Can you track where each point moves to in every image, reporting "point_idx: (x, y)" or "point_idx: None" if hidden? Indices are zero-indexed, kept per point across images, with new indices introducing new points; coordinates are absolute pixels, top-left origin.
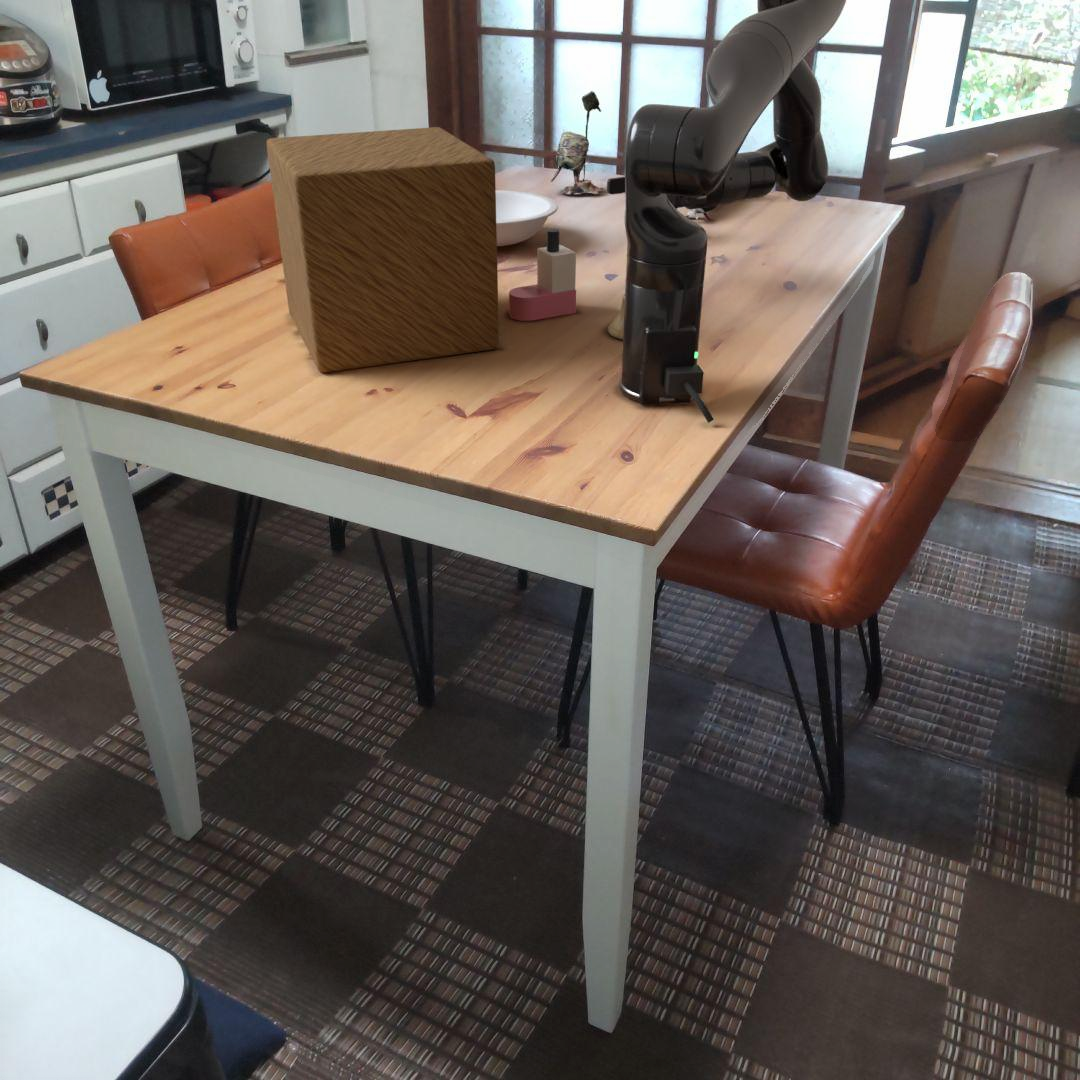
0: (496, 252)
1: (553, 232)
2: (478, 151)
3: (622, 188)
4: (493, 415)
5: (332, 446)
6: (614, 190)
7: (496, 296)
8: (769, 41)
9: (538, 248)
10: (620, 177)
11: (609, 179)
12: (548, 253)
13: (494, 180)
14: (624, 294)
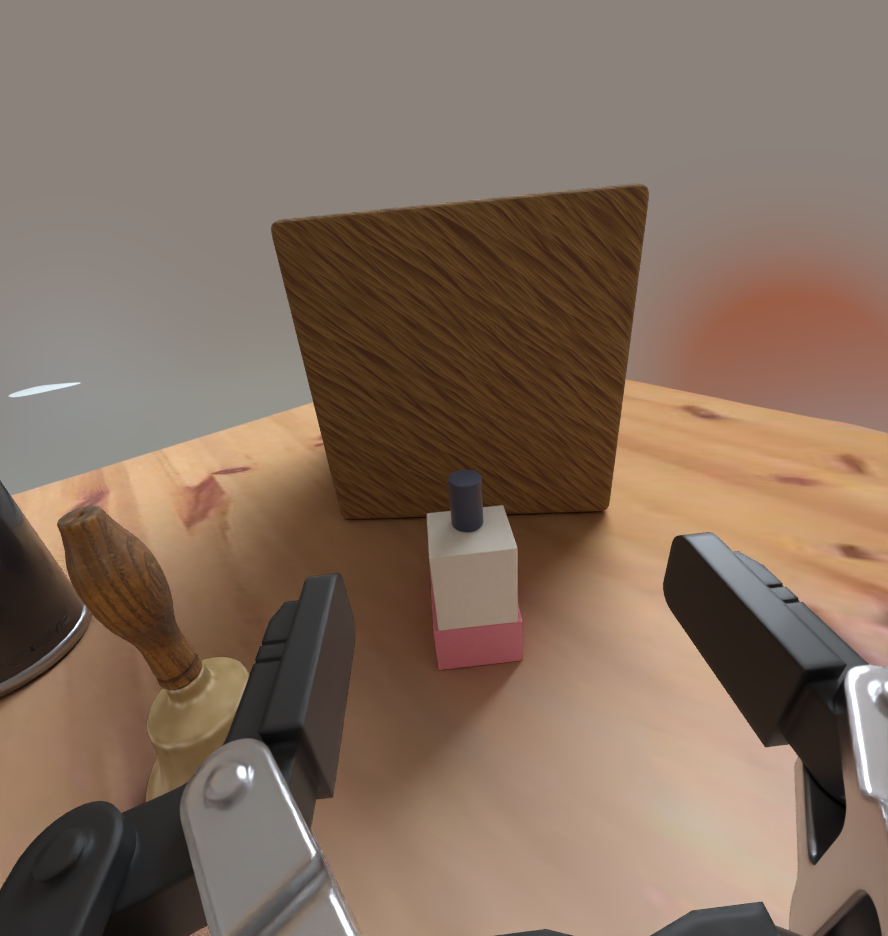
0: (309, 386)
1: (449, 477)
2: (350, 213)
3: (726, 658)
4: (192, 488)
5: (256, 421)
6: (684, 608)
7: (325, 450)
8: None
9: (500, 506)
10: (766, 595)
11: (699, 533)
12: (450, 512)
13: (278, 261)
14: (233, 660)
